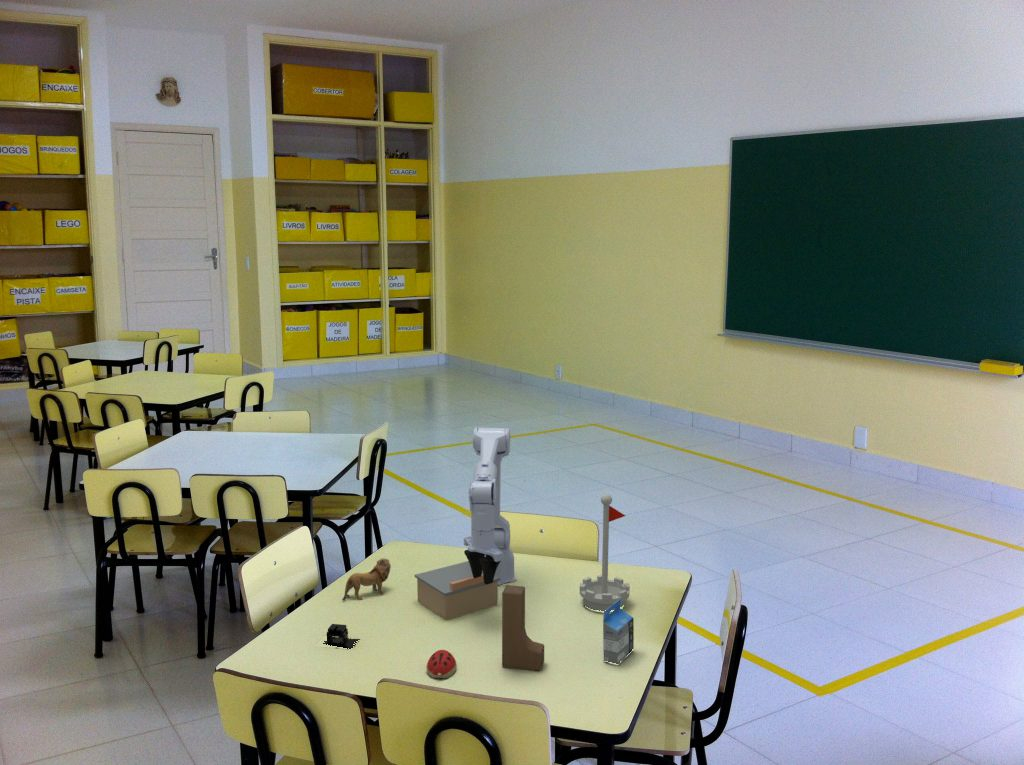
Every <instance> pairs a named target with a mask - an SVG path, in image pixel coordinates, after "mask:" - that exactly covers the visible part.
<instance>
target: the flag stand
mask: <svg viewBox="0 0 1024 765" xmlns="http://www.w3.org/2000/svg"><path fill="white" fill-rule="evenodd" d="M600 502H601V504H602V506H603V508H602V509H603V513H602V517H603V518H602V554H601V558H602V559H601V575H596V577H597V578H596V579H592V578H591V577H590V576H588V577H586V578H583V579H582V582H580V583H579V596H580V597H581V598H583V599H582V601H583V602H582V603H584V605H585V606H586V607H588V608H590V609H593V610H599V611H600V610H601V611H605V610H607V609H608V608H609V607H610V606H612V605H613V604H614V603H615V602H617V601H618V600H620V599H621V603H620V607H622V606H623V605H624V604H625V605H626V601H627V600H628V599H629V597H630V587H631V586H630V584H629V582H628V583H627V582H626V583H624V579H623V578H621V577H617V576H615V577H614V578H613V580H612V579H609V577H608V576H609V539H610V538H609V536H610V535H609V533H610V532H609V530H610V529H609V528H610V526H609V525H610V522H613V521H616V520H618V519H622V518H623V517H626V515H625V514H624V513H622V512H621V511H619V510H618V509H616V508H614V507H612V506H611V504H612V502H613V497H612V495H610V494H608V493H605V494H602V495H601V497H600ZM616 596H617V597H616ZM584 605H583V606H584ZM585 606H584V607H585ZM586 607H585V608H586ZM614 609H615V608H614ZM614 609H613V608H612V610H614Z"/></svg>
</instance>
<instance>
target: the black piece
mask: <svg viewBox="0 0 1024 765" xmlns="http://www.w3.org/2000/svg"><path fill="white" fill-rule="evenodd" d="M325 636H327V641H324V642H325V643H323V644H326V645H327V644H328V645H330V646H331V645H332V646H337V647H343V648H347V649H346V650H349V649H351V648H353V646H355V645H356V644H355V643H357V642H356V641H358V640H360V641H361V638H354V639H351V638H352V637H349V629H348V627H347V624H339V623H338V624H337V623H332V624H331V625H330V626H329V627H328V628H327V631H326V635H325ZM349 638H350V639H349ZM360 641H358V643H359V642H360ZM354 642H355V643H354ZM358 643H357V644H358ZM353 644H355V645H353ZM356 646H357V645H356ZM356 646H355V647H356ZM348 648H349V649H348Z"/></svg>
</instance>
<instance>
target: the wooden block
mask: <svg viewBox="0 0 1024 765" xmlns="http://www.w3.org/2000/svg"><path fill="white" fill-rule="evenodd" d="M501 615H502V616H501V665H502V668H511V669H518V670H519V669H520V670H527V669H528V671H537V670H540V671H542V668H543V666H544V663H545V645H544V643H540V642H538V641H537V642H536V641H533V640H532V639H531V638H530V637H529V636H528V635H527V631H526V587H525V586H524V585H511V584H506V585H505V586H504V588H503V590H502V593H501Z"/></svg>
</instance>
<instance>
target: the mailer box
mask: <svg viewBox="0 0 1024 765" xmlns="http://www.w3.org/2000/svg"><path fill="white" fill-rule="evenodd" d="M416 579H417V578H416ZM416 581H417V582H416V583H417V586H416V587H417V588H416V589H417V602H418V603H420V604H421V605H422V606H423V607H425V608H426V609H428V610H429V611H431V612H432V613H433V614H436V615H437V616H439V617H440V618H442V619H443V620H444V621H448V620H451V619H455V618H457V617H458V618H459V617H461V616H465V615H467V614H471V613H474V612H477V611H481V610H484V609H488V608H491V607H495V606H498V605H499V602H498V598H499V597H498V596H499V595H498V594H499V593H498V592H499V591H498V590H499V589H498V587H499V585H498V581H496V582H493V583H491V584H487V585H486V584H485V585H482V586H478V587H475V588H471V589H468V590H464V591H460V592H457V593H453V594H450V595H446V596H444V595H443V594H441V593H439V592H438V591H436V590H435V589H433V588H431V587H430V586H428V585H427V584H425V583H423V582H422V581H420V580H419V579H417V580H416Z"/></svg>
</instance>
